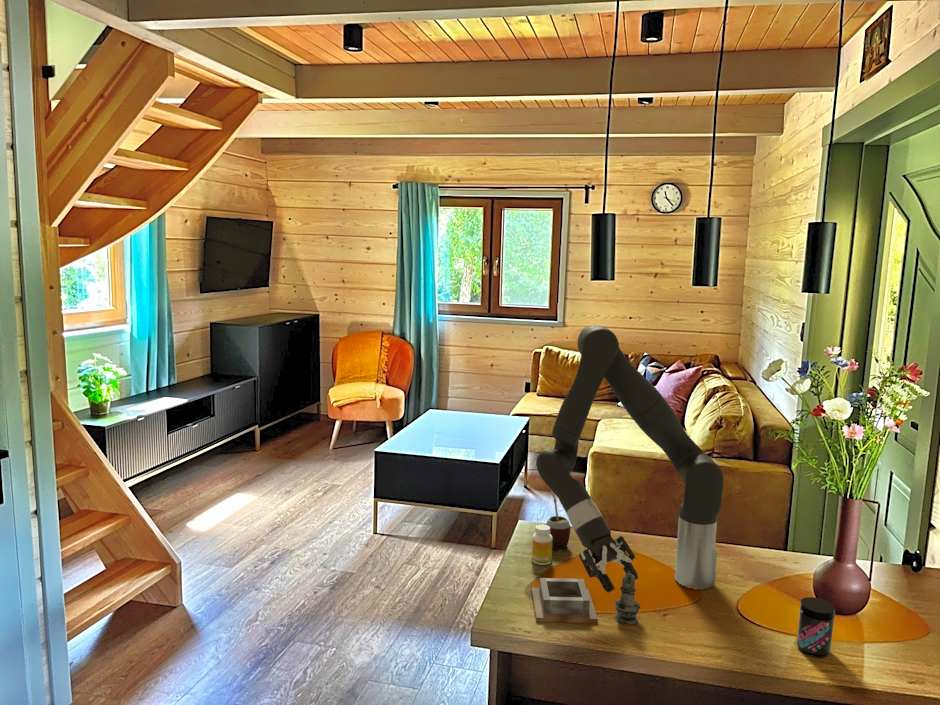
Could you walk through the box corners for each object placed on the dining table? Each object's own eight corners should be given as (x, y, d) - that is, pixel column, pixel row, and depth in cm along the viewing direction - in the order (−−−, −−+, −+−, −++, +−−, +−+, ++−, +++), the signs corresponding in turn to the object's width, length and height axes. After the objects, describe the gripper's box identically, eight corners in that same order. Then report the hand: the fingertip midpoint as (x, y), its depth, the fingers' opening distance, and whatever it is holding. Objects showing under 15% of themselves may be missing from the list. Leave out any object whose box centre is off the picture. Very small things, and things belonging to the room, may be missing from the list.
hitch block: (588, 592, 179) (589, 575, 178) (597, 623, 165) (598, 604, 165) (531, 591, 179) (532, 574, 178) (536, 621, 165) (536, 603, 165)
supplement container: (789, 644, 158) (793, 600, 156) (811, 638, 161) (816, 594, 159) (814, 661, 152) (819, 615, 150) (837, 654, 154) (842, 609, 153)
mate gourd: (563, 553, 201) (565, 502, 198) (537, 547, 205) (539, 496, 202) (574, 544, 207) (576, 494, 204) (548, 537, 211) (550, 488, 208)
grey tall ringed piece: (640, 615, 169) (643, 567, 167) (638, 628, 164) (641, 578, 162) (615, 610, 171) (618, 562, 169) (611, 623, 165) (614, 573, 163)
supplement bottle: (552, 565, 193) (553, 531, 192) (532, 565, 193) (533, 530, 192) (550, 556, 199) (552, 523, 197) (531, 556, 199) (532, 522, 197)
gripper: (576, 522, 167) (613, 588, 160) (616, 508, 176) (652, 570, 169) (559, 536, 172) (593, 601, 165) (598, 522, 181) (633, 583, 174)
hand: (623, 585), depth 167 cm, fingers open, 8 cm apart
